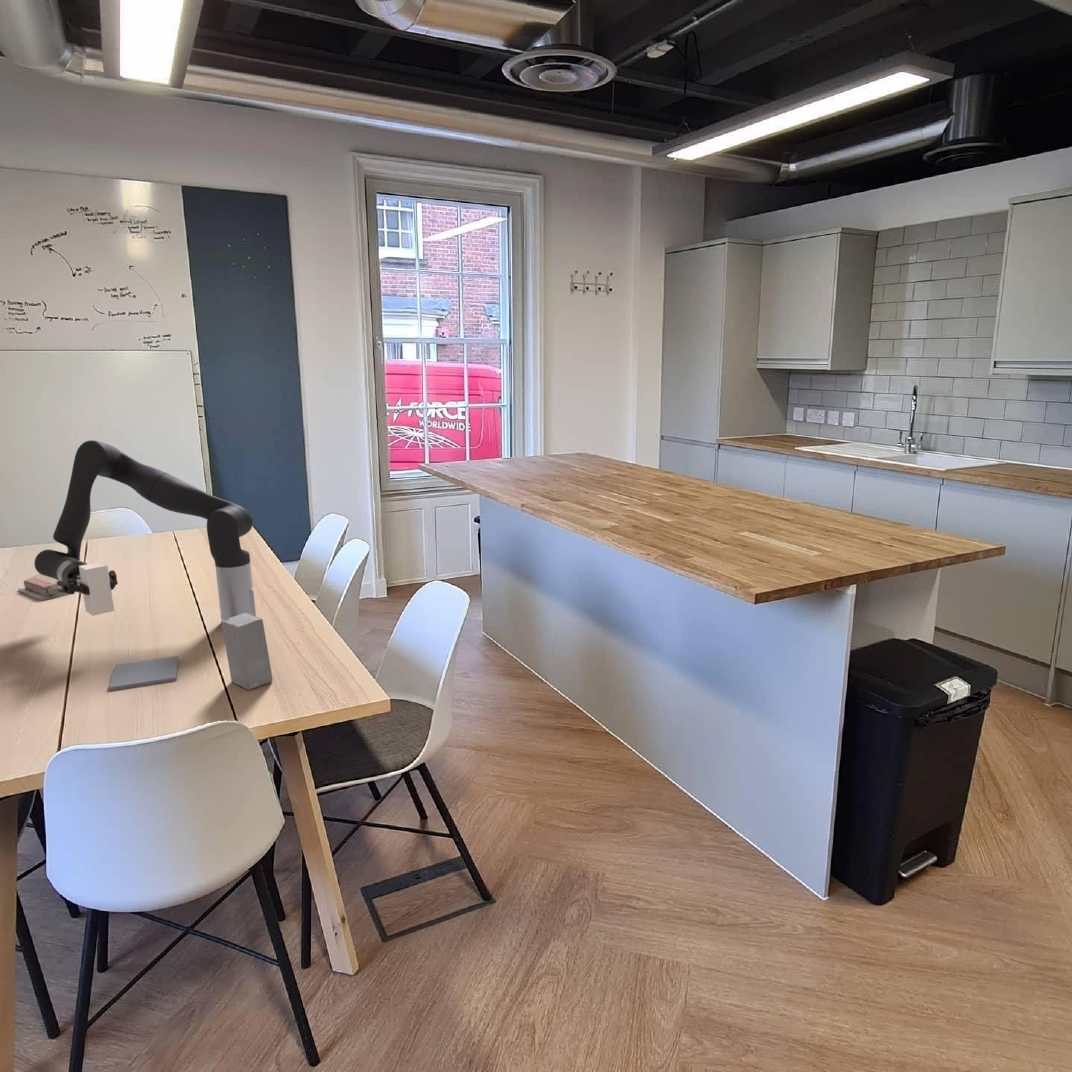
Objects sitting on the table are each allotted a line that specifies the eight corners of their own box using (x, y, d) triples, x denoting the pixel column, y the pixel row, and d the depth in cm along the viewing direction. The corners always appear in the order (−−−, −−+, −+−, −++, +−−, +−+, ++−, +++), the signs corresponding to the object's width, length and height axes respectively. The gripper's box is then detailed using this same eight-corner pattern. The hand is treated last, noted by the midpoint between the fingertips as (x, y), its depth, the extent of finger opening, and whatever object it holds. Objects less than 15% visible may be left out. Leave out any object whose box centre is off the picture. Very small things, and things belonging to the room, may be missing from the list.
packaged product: (74, 579, 244) (39, 587, 236) (76, 594, 245) (42, 602, 237) (49, 570, 254) (15, 577, 246) (51, 584, 255) (18, 592, 247)
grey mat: (178, 658, 192) (178, 655, 191) (176, 680, 179) (175, 677, 179) (115, 667, 186) (115, 664, 186) (108, 690, 174) (108, 687, 174)
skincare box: (273, 682, 178) (267, 618, 174) (244, 692, 173) (237, 626, 169) (255, 672, 183) (248, 610, 179) (226, 682, 178) (219, 618, 174)
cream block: (107, 606, 197) (100, 561, 194) (114, 610, 194) (107, 565, 191) (86, 611, 193) (78, 566, 190) (92, 615, 190) (85, 569, 187)
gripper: (44, 567, 195) (65, 580, 184) (104, 556, 205) (128, 567, 194) (48, 595, 197) (70, 609, 186) (108, 582, 207) (132, 595, 196)
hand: (100, 588), depth 190 cm, fingers closed on cream block, 5 cm apart
